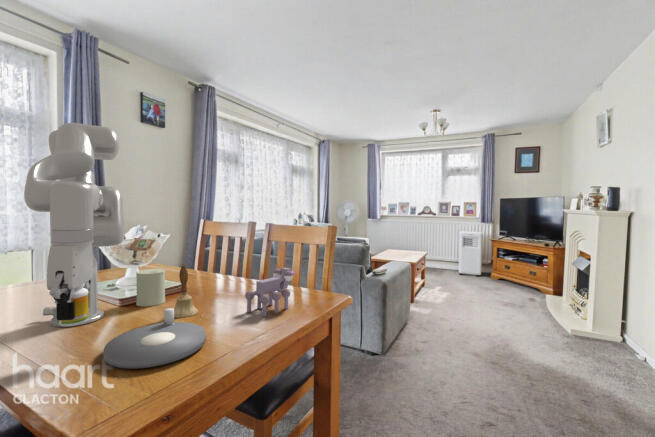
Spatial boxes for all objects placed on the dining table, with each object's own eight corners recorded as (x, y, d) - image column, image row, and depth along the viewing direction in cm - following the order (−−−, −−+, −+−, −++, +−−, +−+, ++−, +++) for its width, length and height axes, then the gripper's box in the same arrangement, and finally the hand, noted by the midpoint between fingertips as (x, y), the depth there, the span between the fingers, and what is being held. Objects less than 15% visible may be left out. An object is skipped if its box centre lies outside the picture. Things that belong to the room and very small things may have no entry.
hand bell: (187, 319, 96) (187, 268, 95) (164, 316, 98) (164, 267, 97) (203, 310, 104) (203, 263, 103) (181, 308, 106) (181, 262, 105)
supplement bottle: (93, 320, 72) (93, 280, 72) (66, 329, 67) (65, 285, 67) (80, 315, 74) (80, 276, 74) (53, 323, 70) (52, 281, 69)
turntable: (83, 373, 63) (83, 347, 63) (126, 330, 85) (126, 310, 84) (197, 362, 68) (197, 338, 68) (211, 324, 90) (211, 305, 90)
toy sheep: (284, 298, 119) (286, 263, 119) (305, 305, 113) (307, 269, 112) (242, 311, 104) (244, 271, 103) (263, 320, 97) (265, 278, 96)
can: (144, 308, 105) (144, 273, 104) (130, 303, 110) (130, 270, 109) (170, 301, 113) (170, 269, 112) (156, 297, 117) (156, 266, 117)
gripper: (74, 231, 77) (75, 301, 78) (25, 242, 60) (28, 331, 62) (108, 232, 79) (109, 300, 80) (70, 242, 62) (71, 329, 63)
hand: (73, 313), depth 71 cm, fingers closed on supplement bottle, 5 cm apart
